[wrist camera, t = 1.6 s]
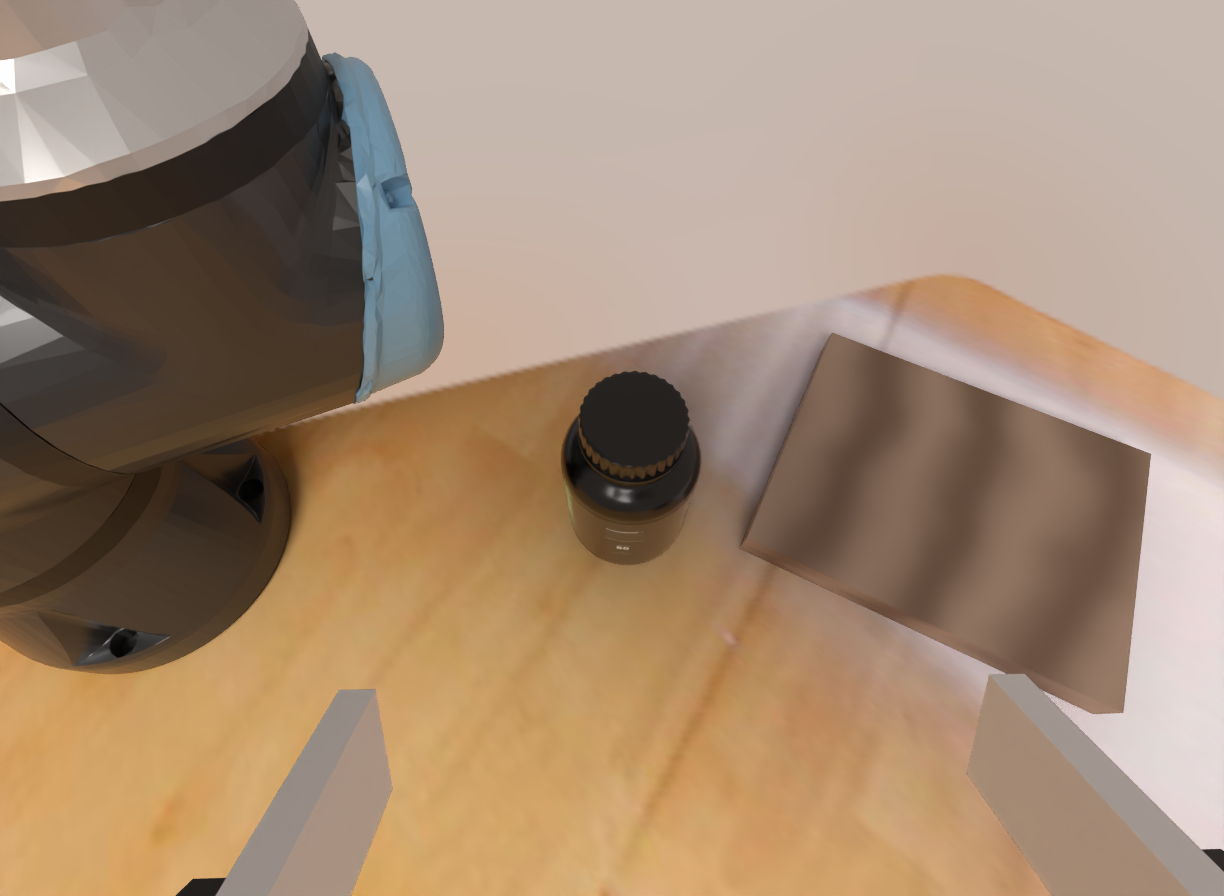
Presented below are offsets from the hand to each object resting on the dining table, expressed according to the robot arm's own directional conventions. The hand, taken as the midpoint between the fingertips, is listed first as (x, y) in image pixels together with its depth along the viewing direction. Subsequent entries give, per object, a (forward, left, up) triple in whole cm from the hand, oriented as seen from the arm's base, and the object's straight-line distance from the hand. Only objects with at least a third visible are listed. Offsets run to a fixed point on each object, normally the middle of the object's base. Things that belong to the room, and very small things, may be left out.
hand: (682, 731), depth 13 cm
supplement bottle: (-6, +11, -20) cm, 23 cm away
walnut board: (+11, +20, -20) cm, 30 cm away
